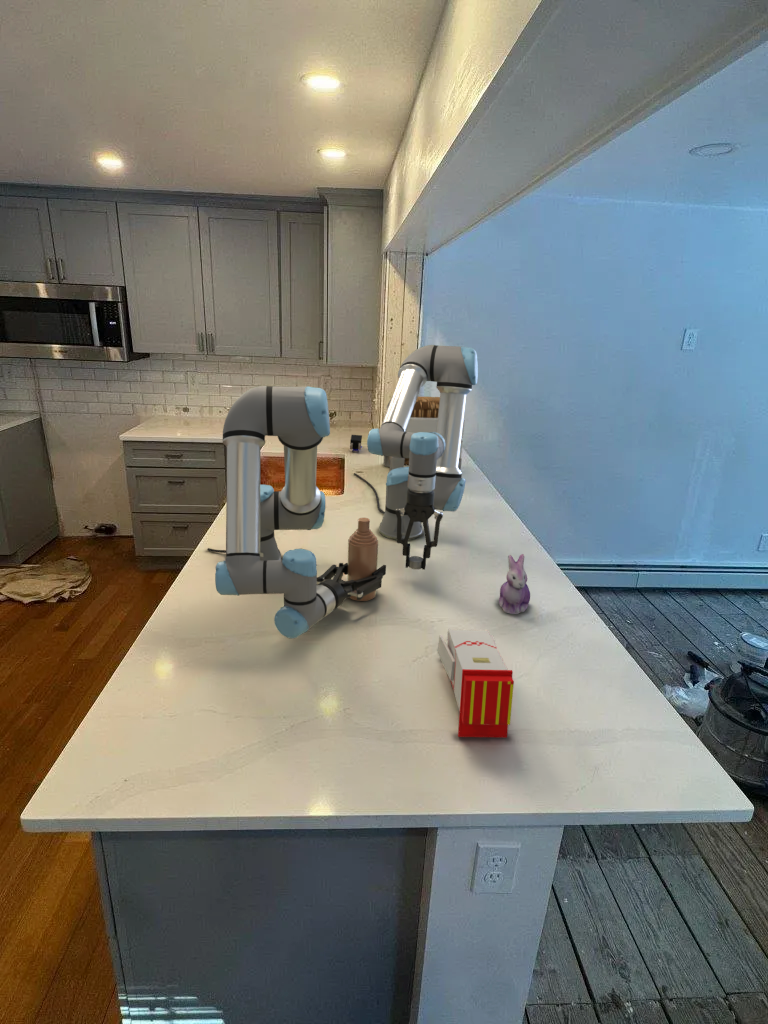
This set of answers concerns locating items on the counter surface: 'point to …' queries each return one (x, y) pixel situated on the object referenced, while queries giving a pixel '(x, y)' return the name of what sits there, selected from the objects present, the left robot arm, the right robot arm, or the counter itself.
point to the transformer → (420, 427)
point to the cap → (415, 562)
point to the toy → (478, 682)
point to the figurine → (515, 588)
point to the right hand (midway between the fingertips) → (415, 566)
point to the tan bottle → (362, 555)
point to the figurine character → (355, 442)
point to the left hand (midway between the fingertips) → (371, 565)
